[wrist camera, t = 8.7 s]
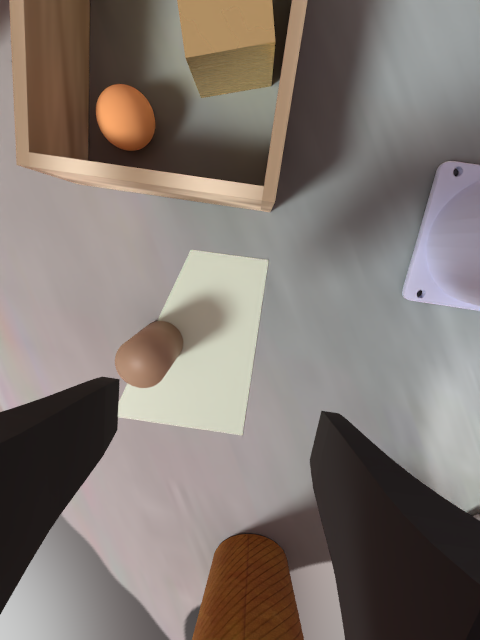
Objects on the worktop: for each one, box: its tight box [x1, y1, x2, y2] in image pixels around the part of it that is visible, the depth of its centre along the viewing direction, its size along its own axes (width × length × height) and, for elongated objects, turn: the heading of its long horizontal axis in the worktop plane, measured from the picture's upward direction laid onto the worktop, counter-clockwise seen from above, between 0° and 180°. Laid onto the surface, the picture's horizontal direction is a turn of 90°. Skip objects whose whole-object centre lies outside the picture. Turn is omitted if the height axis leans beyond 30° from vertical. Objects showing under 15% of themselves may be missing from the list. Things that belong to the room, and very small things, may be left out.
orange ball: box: [96, 84, 155, 151], centre depth 16 cm, size 3×3×3 cm
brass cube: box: [177, 0, 275, 98], centre depth 15 cm, size 4×4×4 cm
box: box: [9, 0, 308, 212], centre depth 15 cm, size 12×12×5 cm
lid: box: [115, 250, 268, 435], centre depth 20 cm, size 13×13×5 cm
